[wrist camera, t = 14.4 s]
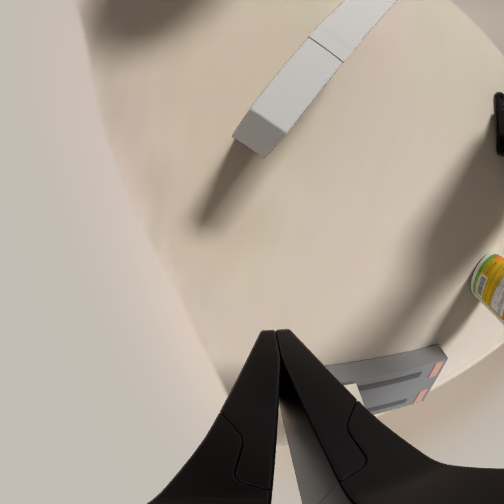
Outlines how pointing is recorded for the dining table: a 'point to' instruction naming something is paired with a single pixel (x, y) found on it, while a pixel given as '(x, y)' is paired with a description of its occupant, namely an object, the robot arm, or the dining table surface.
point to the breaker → (354, 392)
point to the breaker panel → (393, 377)
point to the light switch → (308, 73)
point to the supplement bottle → (490, 284)
